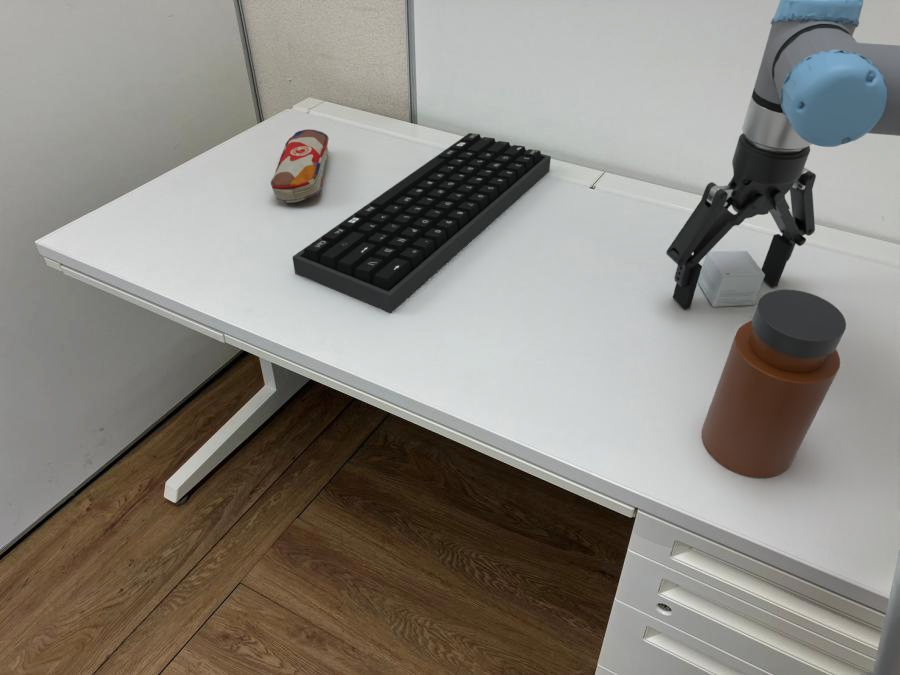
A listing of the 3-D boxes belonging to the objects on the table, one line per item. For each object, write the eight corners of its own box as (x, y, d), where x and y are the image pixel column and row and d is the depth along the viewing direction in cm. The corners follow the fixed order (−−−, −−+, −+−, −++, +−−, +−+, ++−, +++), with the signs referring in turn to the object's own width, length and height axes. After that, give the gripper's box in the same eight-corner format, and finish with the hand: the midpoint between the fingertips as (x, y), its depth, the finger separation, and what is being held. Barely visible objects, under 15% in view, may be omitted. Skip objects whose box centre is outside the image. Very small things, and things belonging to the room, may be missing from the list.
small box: (755, 305, 90) (766, 274, 86) (711, 308, 89) (721, 276, 86) (737, 279, 94) (747, 248, 91) (695, 281, 93) (704, 250, 90)
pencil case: (247, 202, 108) (241, 173, 105) (296, 147, 123) (292, 120, 120) (314, 211, 107) (310, 181, 103) (356, 154, 121) (354, 127, 118)
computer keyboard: (467, 148, 123) (468, 127, 121) (549, 171, 117) (551, 149, 114) (295, 273, 94) (291, 249, 92) (390, 313, 88) (389, 288, 85)
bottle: (812, 463, 70) (881, 334, 59) (738, 489, 68) (796, 358, 57) (753, 402, 76) (806, 275, 65) (683, 423, 74) (725, 295, 63)
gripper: (839, 109, 84) (783, 257, 97) (659, 141, 77) (627, 295, 91) (889, 135, 78) (822, 288, 92) (701, 172, 72) (659, 330, 85)
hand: (725, 292), depth 91 cm, fingers open, 13 cm apart
